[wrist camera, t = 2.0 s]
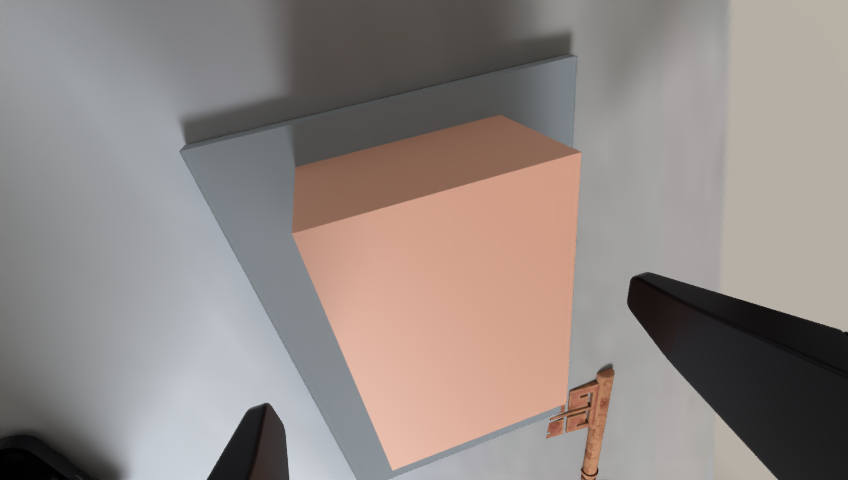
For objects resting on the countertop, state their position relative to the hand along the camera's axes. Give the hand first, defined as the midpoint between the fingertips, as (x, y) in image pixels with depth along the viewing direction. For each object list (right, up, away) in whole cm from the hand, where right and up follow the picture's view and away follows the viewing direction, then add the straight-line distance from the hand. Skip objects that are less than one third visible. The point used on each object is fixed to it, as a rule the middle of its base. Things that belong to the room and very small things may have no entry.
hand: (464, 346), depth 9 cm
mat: (0, 0, +5) cm, 5 cm away
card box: (-1, +2, +3) cm, 4 cm away
